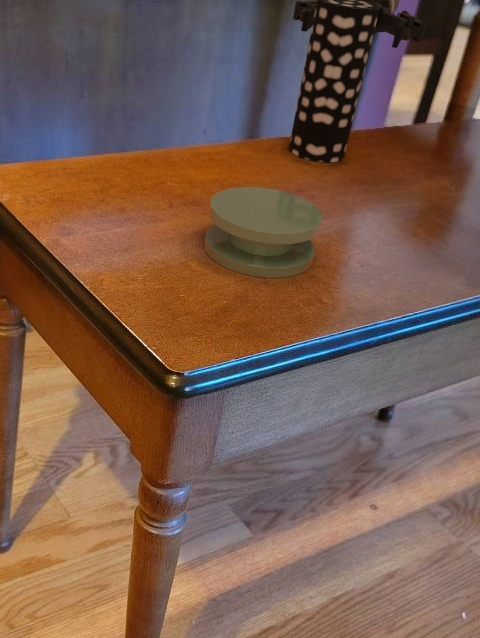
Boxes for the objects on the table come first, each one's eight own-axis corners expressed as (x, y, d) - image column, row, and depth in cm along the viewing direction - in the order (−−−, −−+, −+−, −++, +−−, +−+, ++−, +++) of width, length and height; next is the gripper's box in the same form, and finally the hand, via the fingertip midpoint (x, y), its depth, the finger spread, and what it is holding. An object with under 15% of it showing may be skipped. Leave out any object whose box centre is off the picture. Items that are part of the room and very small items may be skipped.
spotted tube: (312, 165, 106) (345, 9, 94) (277, 145, 111) (304, -5, 99) (355, 159, 110) (393, 9, 97) (320, 140, 115) (351, -4, 103)
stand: (327, 249, 84) (338, 207, 81) (287, 289, 75) (297, 244, 72) (232, 219, 88) (239, 178, 85) (184, 254, 79) (189, 210, 76)
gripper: (436, 46, 125) (428, 72, 108) (292, 20, 130) (264, 41, 113) (451, -4, 120) (444, 15, 104) (301, -29, 125) (273, -14, 109)
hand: (350, 29), depth 109 cm, fingers open, 13 cm apart
